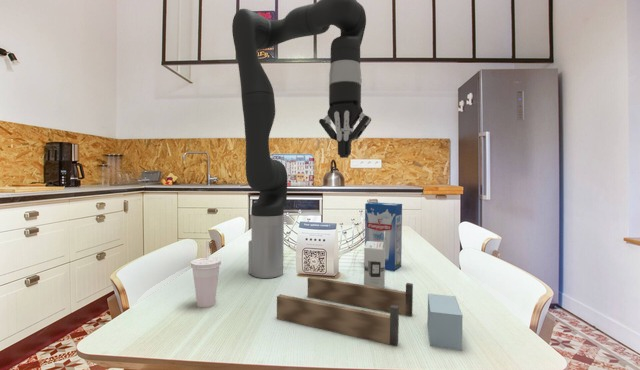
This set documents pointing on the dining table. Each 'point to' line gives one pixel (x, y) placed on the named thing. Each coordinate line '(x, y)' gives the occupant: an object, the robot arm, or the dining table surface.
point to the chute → (349, 309)
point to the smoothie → (206, 278)
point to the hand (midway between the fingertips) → (344, 157)
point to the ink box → (374, 263)
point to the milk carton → (389, 221)
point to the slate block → (444, 322)
